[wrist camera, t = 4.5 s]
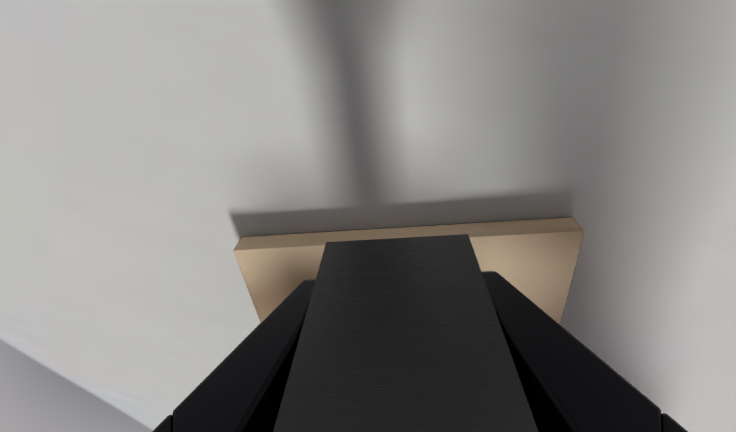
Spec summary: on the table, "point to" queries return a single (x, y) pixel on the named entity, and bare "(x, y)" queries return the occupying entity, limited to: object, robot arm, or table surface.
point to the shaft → (402, 344)
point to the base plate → (489, 240)
